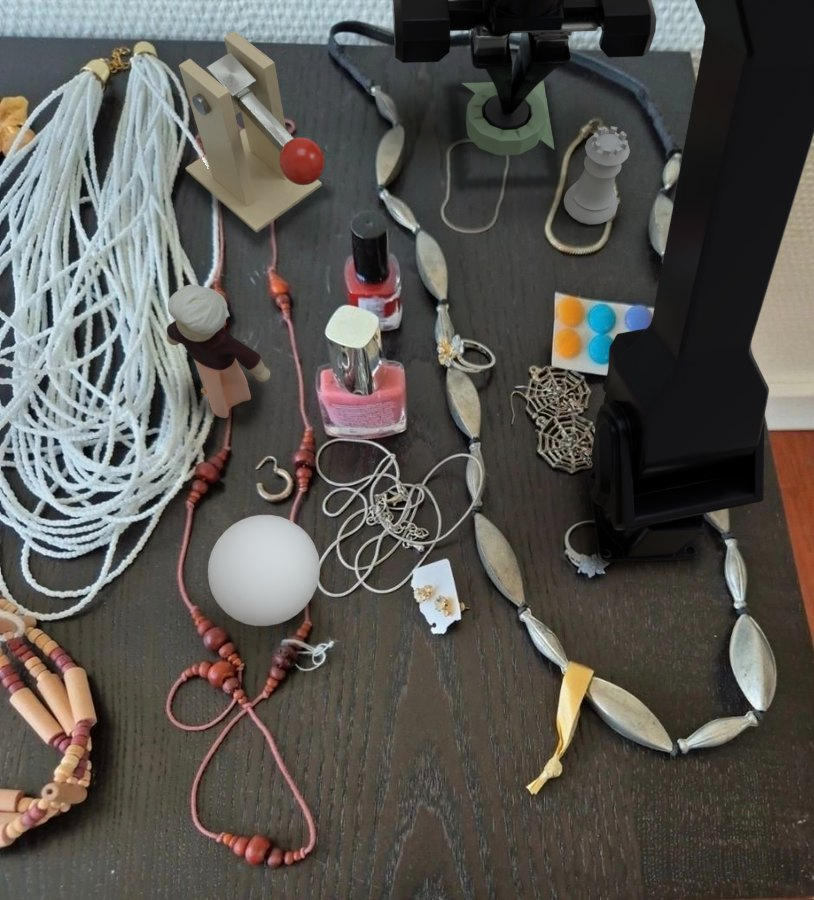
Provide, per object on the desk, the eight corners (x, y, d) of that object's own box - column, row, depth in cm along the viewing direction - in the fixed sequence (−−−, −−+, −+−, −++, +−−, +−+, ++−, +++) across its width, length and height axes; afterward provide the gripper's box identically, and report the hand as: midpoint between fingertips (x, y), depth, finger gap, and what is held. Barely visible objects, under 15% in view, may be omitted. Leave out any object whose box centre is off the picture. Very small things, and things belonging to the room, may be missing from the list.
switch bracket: (323, 193, 65) (307, 71, 54) (258, 240, 63) (228, 123, 52) (253, 134, 68) (224, 7, 57) (188, 178, 66) (146, 55, 55)
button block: (557, 182, 66) (562, 159, 63) (461, 185, 65) (463, 162, 63) (542, 87, 70) (547, 63, 68) (452, 89, 70) (454, 65, 68)
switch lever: (331, 178, 58) (336, 152, 55) (298, 201, 57) (301, 177, 54) (236, 74, 58) (235, 44, 55) (202, 96, 57) (199, 66, 54)
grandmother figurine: (173, 411, 57) (115, 310, 45) (192, 366, 58) (140, 258, 47) (275, 435, 56) (243, 338, 44) (291, 388, 57) (264, 284, 46)
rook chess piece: (570, 241, 63) (592, 167, 56) (551, 199, 65) (570, 122, 57) (622, 229, 64) (651, 155, 56) (602, 188, 65) (627, 110, 58)
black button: (528, 141, 66) (531, 124, 65) (485, 142, 66) (487, 126, 65) (523, 110, 68) (526, 93, 66) (481, 111, 68) (483, 94, 66)
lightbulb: (337, 562, 52) (321, 504, 42) (324, 655, 50) (304, 618, 39) (245, 553, 52) (209, 493, 42) (228, 645, 50) (184, 606, 40)
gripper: (657, -161, 55) (604, 39, 69) (388, -155, 54) (391, 45, 68) (687, -57, 50) (624, 134, 64) (394, -50, 50) (396, 141, 64)
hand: (507, 109), depth 65 cm, fingers closed, pressing on black button
